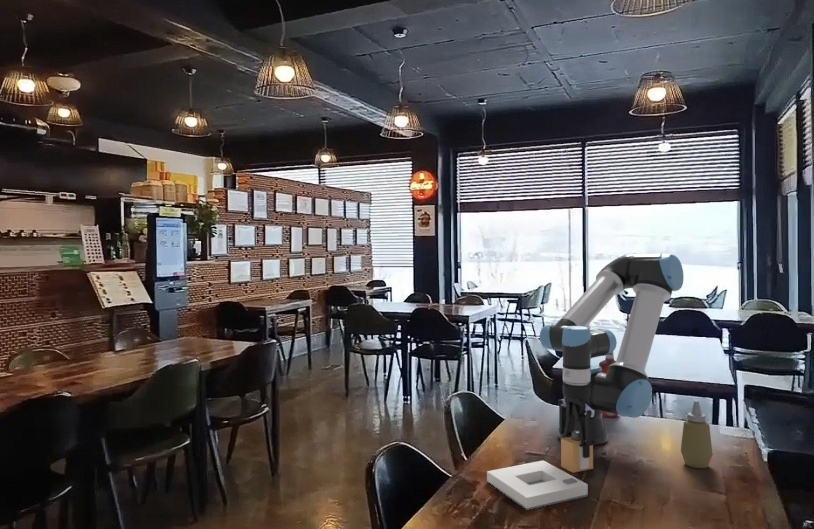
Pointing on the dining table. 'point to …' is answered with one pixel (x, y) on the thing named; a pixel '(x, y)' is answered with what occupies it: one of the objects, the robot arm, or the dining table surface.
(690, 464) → the squeeze bottle
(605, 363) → the liquor
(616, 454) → the dining table surface
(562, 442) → the plug
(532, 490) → the socket
